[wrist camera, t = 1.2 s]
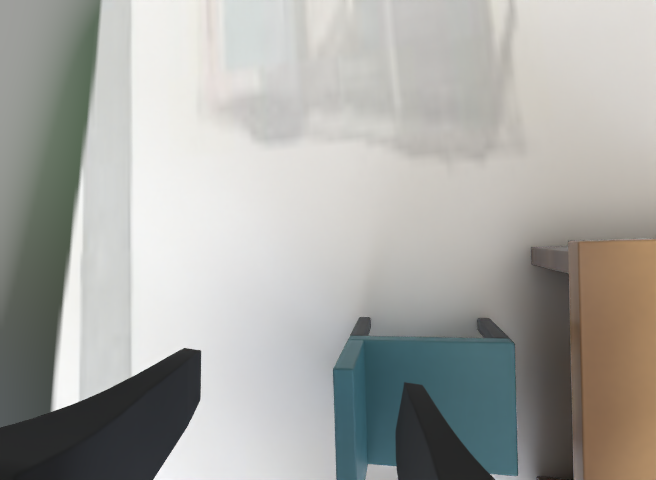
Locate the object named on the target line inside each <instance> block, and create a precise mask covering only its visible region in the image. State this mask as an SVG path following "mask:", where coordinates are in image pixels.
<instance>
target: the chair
mask: <svg viewBox="0 0 656 480" xmlns="http://www.w3.org/2000/svg"><path fill="white" fill-rule="evenodd" d="M477 323H478V331H479V332H480V333H481V334H482V336H483V337H484V338H452V337H399V336H368V334H369V331H370V328H371V320H370V318H369V317H360V318H359V319H358V321H357V323H356V325H355V327H354V329H353V331H352V333H351V335H350V337H349V339H348V341H347V343H346V345H345V347H344V349H343V351H342V353H341V355H340V357H339V359H338V361H337V363H336V365H335V367H334V369H333V385H334V416H335V448H336V479H337V480H365V479H366V472H367V465H368V464H376V465H388V466H397V465H396V441H395V431H396V425H397V420H398V414H399V409H400V404H401V398H402V393H403V387H404V382H407V383H413V384H420V385H423V386H424V388H425V389H426V391H427V392H428V394H429V395H430V397H431V399H432V400H433V402H434V403H435V405H436V406H437V408H438V410H439V411H440V413H441V414H442V416H443V417H444V418H445V420H446V421H447V423H448V424H449V426H450V427H451V428H452V430H453V431H454V433H455V434H456V435H457V437H458V438H459V439H460V441H461V442H462V443H463V444H464V446H465V447H466V448H467V449H468V451H469V452H470V453H471V454H472V455H473V456H474V458H475V459H476V460H477V461H478V462H479V463H480V464H481V465H482V466H483V468H484V469H485V470H486V471H487V472H488V473H489V474H498V475H510V476H517V475H518V453H517V414H516V375H515V344H514V342H513V341H512V340H511V339H509V337H508V336H507V335H506V334H505V333H504V332H503V331H502V330H501V329H500V328H499V327H498V326H497V325H496V324H495V323H493V322H492V321H491V320H490V319H488V318H479V319H478V320H477Z"/></svg>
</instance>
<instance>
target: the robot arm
mask: <svg viewBox="0 0 656 480" xmlns="http://www.w3.org/2000/svg"><path fill="white" fill-rule="evenodd" d="M200 390H201V351H200V350H194V349H187V348H184V349H182V350H180V351H178V352H176V353H174V354H172V355H171V356H169V357H167V358H165V359H164V360H162V361H160V362H158V363H157V364H155V365H153V366H151V367H149V368H148V369H146V370H144V371H142V372H140V373H139V374H137V375H135V376H133V377H131V378H129V379H127V380H125V381H123V382H121V383H119V384H117V385H115V386H113V387H111V388H109V389H107V390H105V391H103V392H101V393H99V394H97V395H94V396H92V397H90V398H87V399H85V400H82V401H80V402H78V403H75V404H73V405H70V406H67V407H65V408H62V409H59V410H56V411H53V412H50V413H47V414H44V415H41V416H39V417H36V418H33V419H29V420H26V421H22V422H19V423H16V424H12V425H8V426H5V427H1V428H0V480H153V479H154V477H155V476H156V474H157V473H158V471H159V470H160V468H161V467H162V465H163V464H164V462H165V460H166V459H167V457H168V456H169V454H170V453H171V451H172V450H173V448H174V447H175V445H176V443H177V442H178V440H179V439H180V437H181V436H182V434H183V433H184V431H185V429H186V428H187V426H188V424H189V422H190V420H191V418H192V416H193V414H194V412H195V410H196V408H197V406H198V403H199V401H200ZM395 441H396V465H397V473H398V480H495V479H494V478H493V477H492V476H491V475H490V474H489V473H488V472H487V471H486V470H485V469H484V468H483V466H482V465H481V464H480V463H479V462H478V461H477V460H476V459H475V458H474V456H473V455H472V454H471V453H470V452H469V451H468V449H467V448H466V447H465V446H464V444H463V443H462V442H461V441H460V439H459V438H458V437H457V435H456V434H455V433H454V431H453V430H452V428H451V427H450V426H449V424H448V423H447V421H446V420H445V418H444V417H443V416H442V414H441V413H440V411H439V410H438V408H437V406H436V405H435V403H434V402H433V400H432V399H431V397H430V395H429V394H428V392H427V391H426V389H425V388H424V386H423V385H420V384H413V383H407V382H404V387H403V393H402V398H401V404H400V409H399V414H398V420H397V425H396V431H395Z"/></svg>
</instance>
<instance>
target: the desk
mask: <svg viewBox="0 0 656 480" xmlns="http://www.w3.org/2000/svg"><path fill="white" fill-rule="evenodd" d="M531 260H532V265H535V266H539V267H543V268H547V269H552V270H556V271H560V272H564V273H568V274H569V303H570V345H571V388H572V431H573V473H574V480H656V238H655V239H617V240H578V241H569V242H568V246H555V247H531ZM537 480H573V479H560V478H548V477H537Z"/></svg>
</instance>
